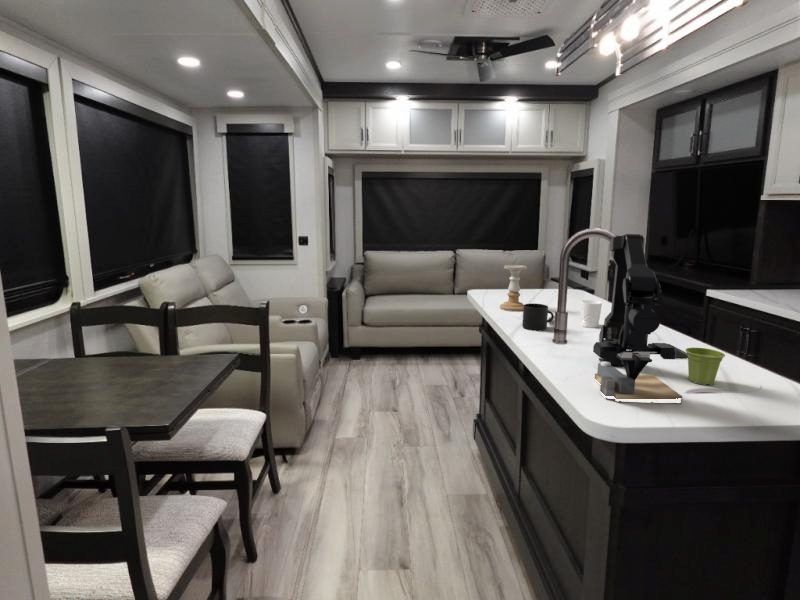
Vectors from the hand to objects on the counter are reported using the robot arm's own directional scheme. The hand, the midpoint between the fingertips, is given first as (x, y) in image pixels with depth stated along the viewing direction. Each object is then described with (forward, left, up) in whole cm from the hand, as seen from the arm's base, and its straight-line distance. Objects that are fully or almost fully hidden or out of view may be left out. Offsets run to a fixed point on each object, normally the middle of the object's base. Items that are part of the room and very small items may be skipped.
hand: (630, 382), depth 130 cm
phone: (-41, +30, -4) cm, 51 cm away
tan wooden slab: (-3, +3, -4) cm, 5 cm away
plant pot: (-12, +25, -4) cm, 28 cm away
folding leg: (-3, -3, -1) cm, 4 cm away
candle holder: (-108, -10, -4) cm, 108 cm away
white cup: (-76, +15, -4) cm, 77 cm away
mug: (-71, -7, -4) cm, 71 cm away
